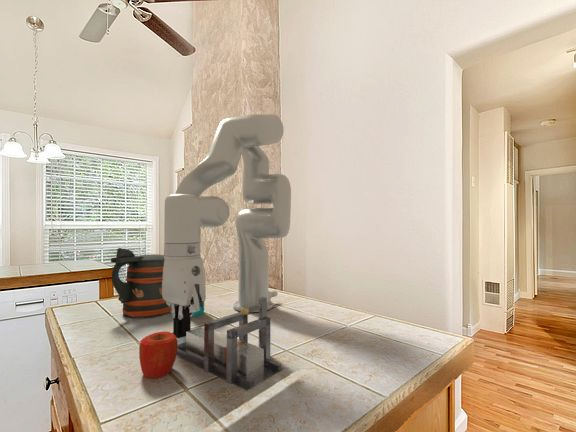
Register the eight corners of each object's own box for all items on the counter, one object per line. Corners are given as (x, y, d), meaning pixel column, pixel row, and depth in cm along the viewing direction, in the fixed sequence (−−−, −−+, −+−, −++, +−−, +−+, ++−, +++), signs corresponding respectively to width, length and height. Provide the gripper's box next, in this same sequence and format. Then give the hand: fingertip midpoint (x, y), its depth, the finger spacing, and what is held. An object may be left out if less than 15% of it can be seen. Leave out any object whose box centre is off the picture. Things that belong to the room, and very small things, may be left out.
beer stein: (134, 326, 79) (135, 249, 80) (96, 319, 85) (97, 247, 85) (185, 307, 97) (185, 244, 97) (150, 303, 102) (151, 243, 103)
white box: (185, 351, 61) (186, 331, 61) (203, 345, 64) (203, 326, 64) (246, 381, 49) (246, 356, 50) (263, 372, 53) (263, 348, 53)
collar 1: (243, 357, 61) (243, 311, 61) (247, 359, 60) (247, 312, 60) (203, 375, 53) (204, 323, 54) (208, 378, 53) (208, 324, 53)
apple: (174, 385, 50) (174, 339, 50) (134, 389, 49) (134, 342, 49) (179, 367, 56) (180, 326, 57) (143, 370, 55) (144, 329, 55)
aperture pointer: (262, 356, 61) (262, 296, 61) (268, 359, 60) (268, 297, 60) (239, 368, 56) (239, 302, 56) (245, 370, 55) (245, 304, 55)
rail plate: (181, 333, 74) (181, 325, 74) (283, 374, 54) (283, 362, 54) (145, 345, 67) (145, 336, 67) (247, 396, 47) (247, 383, 47)
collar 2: (265, 366, 57) (265, 316, 57) (270, 368, 56) (270, 317, 56) (226, 387, 50) (226, 330, 50) (231, 389, 49) (231, 332, 49)
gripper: (218, 251, 65) (218, 338, 65) (178, 248, 74) (177, 324, 74) (188, 254, 59) (187, 350, 59) (148, 250, 68) (147, 333, 68)
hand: (181, 335), depth 66 cm, fingers closed
